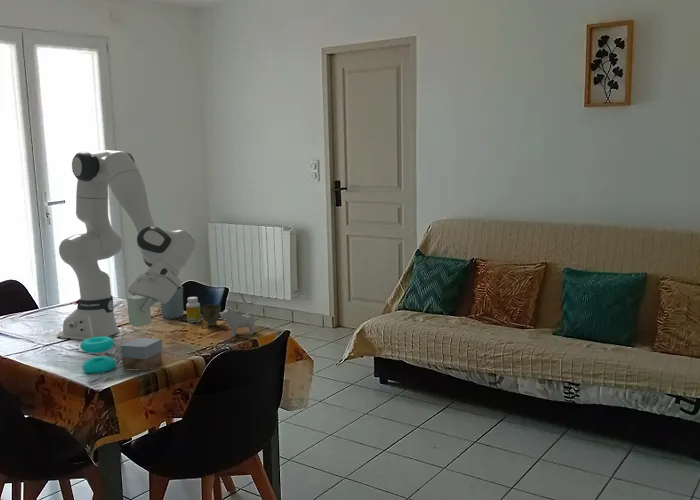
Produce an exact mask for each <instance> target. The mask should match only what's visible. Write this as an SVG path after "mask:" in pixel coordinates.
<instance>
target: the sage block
mask: <svg viewBox="0 0 700 500" xmlns="http://www.w3.org/2000/svg"><path fill="white" fill-rule="evenodd" d="M148 299H149V297H146V296H142V295H136V296H133V295H131V296H127V297H126V303H127V313H128V315H127V316H128V325H129V326H132V327H136V328H140V327H144V326H148V325H151V324H152V315H151V307H150V308H149V309H148V310H147V312H142V311H141V310H140V308H141V306H142V305H144V304H145V303H146V302H147V301H148Z"/></svg>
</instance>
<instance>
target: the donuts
mask: <svg viewBox="0 0 700 500" xmlns="http://www.w3.org/2000/svg"><path fill="white" fill-rule="evenodd" d="M114 344H115V343H114V339H113V338H112V337H111V336H107V337H106V336H98V337H92V338H88V339H85V340H81V343H80V349H81V350H82V351H83V352H85V353H89V354H98V353H103V352H104V353H105V352H107V351H109V350H110V349H111V348H112V347H113V346H114ZM115 366H116V360H115V359H114V358H113V357H111V356H105V355H103V356H96V357H92V358H89V359H87V360H85V361H84V362H83V364H82V370H83V371H84V372H85V373H86V374H91V373H97V374H103V373H102V372H104V373H106V372H110V371H112V370H113V369H115Z"/></svg>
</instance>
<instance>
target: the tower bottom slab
mask: <svg viewBox="0 0 700 500" xmlns="http://www.w3.org/2000/svg"><path fill="white" fill-rule="evenodd" d="M121 358H122V357H121ZM162 359H163V357H162V352H160V353H158V354H156V355H154V356H152V357H150V358H148V359H134V358H122V361H121V363H122V370H123V369H139V370H138V371H151V370H152V369H153V368H155V367H156V366H158V365H159V364H161V363H162V362H163V361H162ZM157 364H158V365H157ZM154 366H155V367H154ZM151 368H152V369H151ZM150 369H151V370H150Z"/></svg>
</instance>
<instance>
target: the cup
mask: <svg viewBox="0 0 700 500" xmlns="http://www.w3.org/2000/svg"><path fill="white" fill-rule="evenodd" d="M220 304H221V303H220ZM220 304H218V303H216V304H215V305H214V304H213V303H209V304H205V305H202V306H200V310H201V313H202V315H201V316H202V318H203V320H204V322H206V323H207V326H208V327H215V326H216V325H217V324H218V323H217V322H218V321H219V319H220V318H221V316H220V314H219V313H220V312H221V305H220Z"/></svg>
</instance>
